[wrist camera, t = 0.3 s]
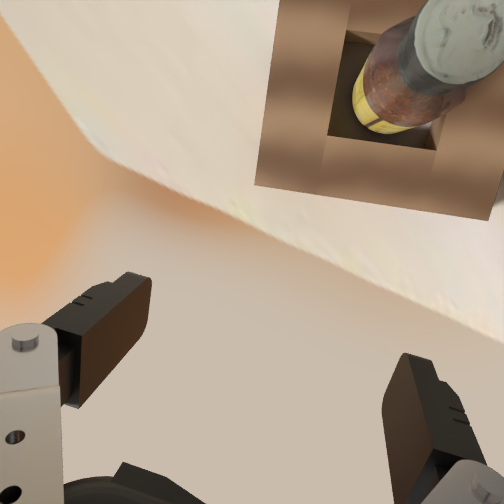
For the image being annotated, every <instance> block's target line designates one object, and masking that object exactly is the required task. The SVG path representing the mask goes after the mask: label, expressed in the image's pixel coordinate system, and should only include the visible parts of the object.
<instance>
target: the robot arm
mask: <svg viewBox="0 0 504 504" xmlns="http://www.w3.org/2000/svg"><path fill="white" fill-rule="evenodd" d="M151 287H152V280H151V278H149V277H145V276H142V275H138V274H135V273H132V272H126V273H125V274H123V275H122V276H121V277H119V278H118V279H117V280H116V281H115V282H113V283H111V282H104V283H101V284H98V285H96V286H92V287H91V288H90V289H88V290H87V291H85V292H84V293H83V294H81V296H78V297H77V298H76V299H74V300H73V301H72V303H69V304H67V305H66V306H65V307H63V308H62V309H60V310H59V311H58V312H56V313H55V314H54V315H52V316H51V317H49V318H48V319H47V320H46V321H44V322H43V323H41V324H38V323H23V324H17V325H13V326H10V327H8V328H5V329H3V330H2V331H0V504H205V503H204V502H202V501H201V500H199V499H198V498H196V497H195V496H193V495H192V494H190V493H189V492H188V491H186V490H185V489H183V488H182V487H180V486H179V485H177V484H176V483H174V482H173V481H171V480H170V479H168V478H167V477H165V476H162V475H159V474H156V473H153V472H150V471H148V470H145V469H142V468H139V467H136V466H133V465H130V464H128V463H125V462H122V464H121V466H120V467H119V469H118V471H117V472H116V474H115V475H114V477H110V476H101V477H90V478H84V479H80V480H76V481H72V482H69V483H66V484H63V459H62V430H61V406H62V405H63V404H66V405H68V406H71V407H74V408H77V409H79V408H80V407H81V406H82V404H83V403H84V402H85V401H86V400H87V399H88V398H89V397H90V395H91V394H92V393H93V392H94V391H95V390H96V388H97V387H98V386H99V385H100V384H101V383H102V381H103V380H104V379H105V378H106V377H107V376H108V374H109V373H110V372H111V371H112V370H113V369H114V368H115V367H116V365H117V364H118V363H119V362H120V361H121V360H122V358H123V357H124V356H125V355H126V354H127V353H128V351H129V350H130V349H131V348H132V347H133V346H134V344H135V343H136V342H137V341H138V340H139V339H140V337H141V336H142V334H143V332H144V330H145V327H146V324H147V320H148V313H149V304H150V296H151ZM464 412H465V410H464V408H463V406H462V403H461V401H460V398H459V396H458V395H457V394H456V393H455V392H454V391H453V389H452V388H451V387H450V386H449V385H448V384H447V382H443V381H440V380H439V379H438V377H437V374H436V371H435V368H434V365H433V363H432V361H431V360H428V359H425V358H422V357H418V356H415V355H411V354H408V353H403V354H402V356H401V357H400V359H399V362H398V364H397V366H396V368H395V371H394V373H393V375H392V378H391V380H390V382H389V385H388V387H387V389H386V392H385V394H384V398H383V403H382V418H383V426H384V433H385V441H386V448H387V455H388V462H389V469H390V476H391V484H392V491H393V497H394V504H504V477H503V476H501V475H500V474H499V473H498V472H496V471H495V470H493V469H492V468H490V467H488V466H487V464H486V461H485V459H484V456H483V454H482V451H481V449H480V446H479V444H478V442H477V439H476V437H475V434H474V432H473V430H472V427H471V426H469V425H470V422H469V420H468V418H467V415H466V414H465V413H464Z"/></svg>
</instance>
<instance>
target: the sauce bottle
mask: <svg viewBox="0 0 504 504" xmlns="http://www.w3.org/2000/svg"><path fill="white" fill-rule="evenodd" d="M503 62H504V0H427V1H426V3H425V4H424V5H423V7H422V8H421V9H420V10H419V12H418V13H417V15H416V16H413V17H411V18H408V19H406V20H404V21H402V22H400V23H398V24H396V25H394V26H393V27H391V28H389V29H387V30H386V31H385V32H383V34H382V35H381V36H380V38H379V40H378V42H377V44H376V45H375V46H374V48H373V49H372V51H371V52H370V54H369V56H368V58H367V60H366V62H365V64H364V66H363V68H362V70H361V72H360V74H359V76H358V78H357V80H356V82H355V84H354V87H353V94H352V105H353V109H354V111H355V114H356V116H357V118H358V119H359V121H360V122H361V123H362V124H363V125H364V126H365V127H366V128H367V129H369V130H371V131H374V132H377V133H382V134H393V133H397V132H401V131H404V130H407V129H411V128H414V127H417V126H421V125H424V124H427V123H429V122H431V121H433V120H435V119H437V118H439V117H440V116H442V115H444V114H446V113H448V112H449V111H450V110H452V109H453V108H455V107H456V106H458V105H459V104H461V103H462V102H463V101H464V100H465V98H466V93H467V89H468V87H469V86H472V85H474V84H476V83H478V82H480V81H481V80H483V79H484V78H486V77H487V76H488V75H490V74H492V73H493V72H494V71H496V70H497V68H498V67H499V66H500V65H501V64H502V63H503Z"/></svg>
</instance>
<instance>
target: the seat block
mask: <svg viewBox="0 0 504 504" xmlns="http://www.w3.org/2000/svg"><path fill="white" fill-rule="evenodd" d="M426 1H427V0H280V2H279V9H278V16H277V24H276V31H275V38H274V45H273V53H272V60H271V67H270V75H269V82H268V89H267V96H266V104H265V111H264V118H263V125H262V133H261V140H260V147H259V155H258V162H257V169H256V176H255V184H254V185H257V186H263V187H270V188H276V189H283V190H289V191H296V192H302V193H309V194H315V195H322V196H328V197H335V198H341V199H348V200H354V201H361V202H367V203H374V204H380V205H387V206H393V207H400V208H406V209H413V210H419V211H426V212H432V213H439V214H445V215H452V216H458V217H465V218H472V219H478V220H485V221H488V220H489V217H490V213H491V210H492V207H493V204H494V201H495V197H496V194H497V191H498V188H499V184H500V181H501V178H502V175H503V172H504V62H503V63H502V64H501V65H500V66H499V67H498V68H497V70H496V71H494V72H493V73H492V74H490V75H488V76H487V77H486V78H484V79H483V80H481V81H480V82H478V83H476V84H474V85H472V86H469V87H468V89H467V93H466V98H465V100H464V101H463V102H462V103H461V104H459V105H458V106H456V107H455V108H453V109H452V110H450V111H449V112H448V113H446V114H444V115H442V116H440V117H439V118H437V119H435V120H433V121H432V123H431V127H430V131H429V135H428V139H427V143H426V147H425V149H420V148H413V147H406V146H399V145H392V144H384V143H377V142H370V141H363V140H356V139H348V138H341V137H334V136H327V132H328V127H329V121H330V116H331V110H332V105H333V99H334V94H335V88H336V83H337V77H338V72H339V66H340V61H341V55H342V50H343V44H344V42H353V43H361V44H370V45H376V44H377V42H378V40H379V38H380V36H381V35H382V34H383V32H385V31H386V30H387V29H389V28H391V27H393V26H394V25H396V24H398V23H400V22H402V21H404V20H406V19H408V18H411V17H413V16H416V15H417V13H418V12H419V10H420V9H421V8H422V7H423V5H424V4H425V3H426Z"/></svg>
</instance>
